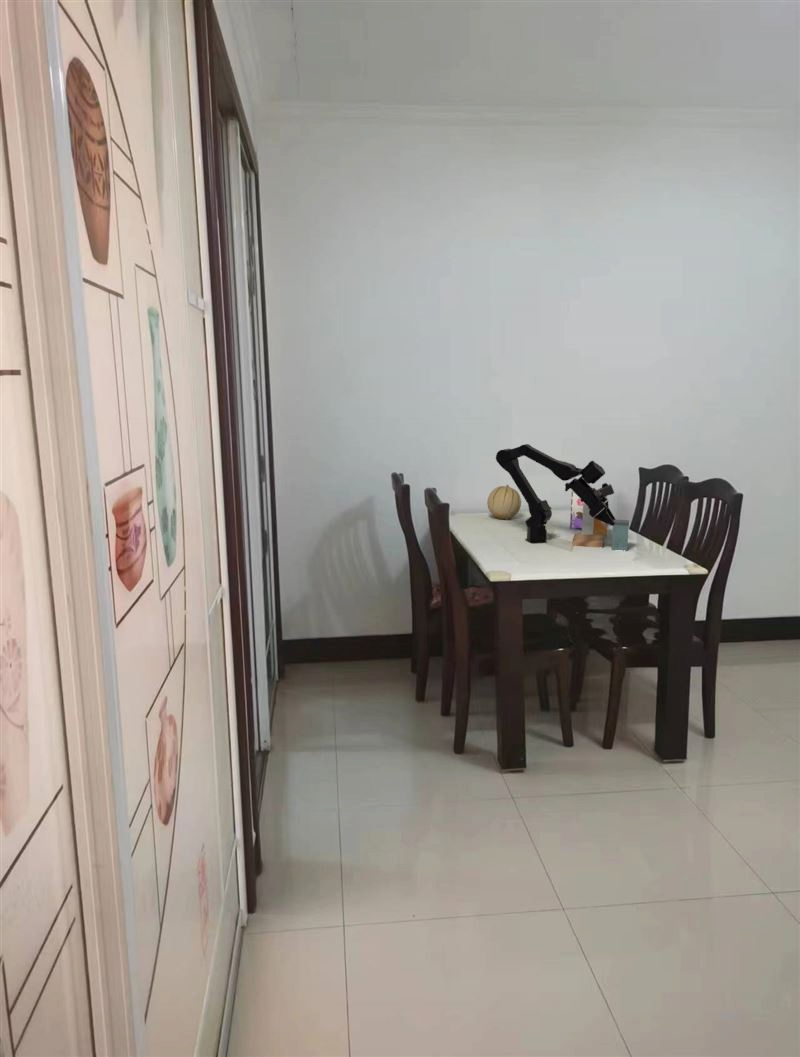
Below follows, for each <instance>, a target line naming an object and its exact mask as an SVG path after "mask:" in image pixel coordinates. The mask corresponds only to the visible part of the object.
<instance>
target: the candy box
mask: <svg viewBox="0 0 800 1057" xmlns="http://www.w3.org/2000/svg"><path fill="white" fill-rule="evenodd" d="M605 497H606V498H607V499H608V496H605ZM606 502H607V501H605V503H606ZM583 504H585V503H584V502H582V501H581V499H580V498H579V497H578V496H577V495H576V493H575V492H574V491H573V490H572V489H571V503H570V520H569V522H570V523H569V524H570V525H569V529H573V530H582V519H583Z"/></svg>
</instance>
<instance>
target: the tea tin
mask: <svg viewBox="0 0 800 1057" xmlns="http://www.w3.org/2000/svg"><path fill="white" fill-rule="evenodd" d="M615 519H616V518H615ZM615 519H613V522H614V523H615V524H614V525H613V526H612V532H611V533H612V534H611V536H612V538H611V551H615V550H623V551H622V552H628V541H629V526H630V520H629V519H616V520H615ZM624 550H625V551H624Z"/></svg>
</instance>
